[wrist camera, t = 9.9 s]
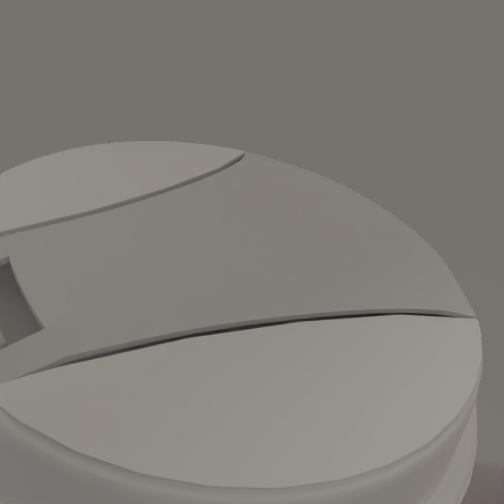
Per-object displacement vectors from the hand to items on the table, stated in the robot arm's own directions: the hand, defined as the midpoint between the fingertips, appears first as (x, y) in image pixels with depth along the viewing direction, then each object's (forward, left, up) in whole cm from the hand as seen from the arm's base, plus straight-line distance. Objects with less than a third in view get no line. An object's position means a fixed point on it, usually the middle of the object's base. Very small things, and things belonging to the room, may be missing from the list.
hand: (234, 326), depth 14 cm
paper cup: (0, -5, -8) cm, 10 cm away
